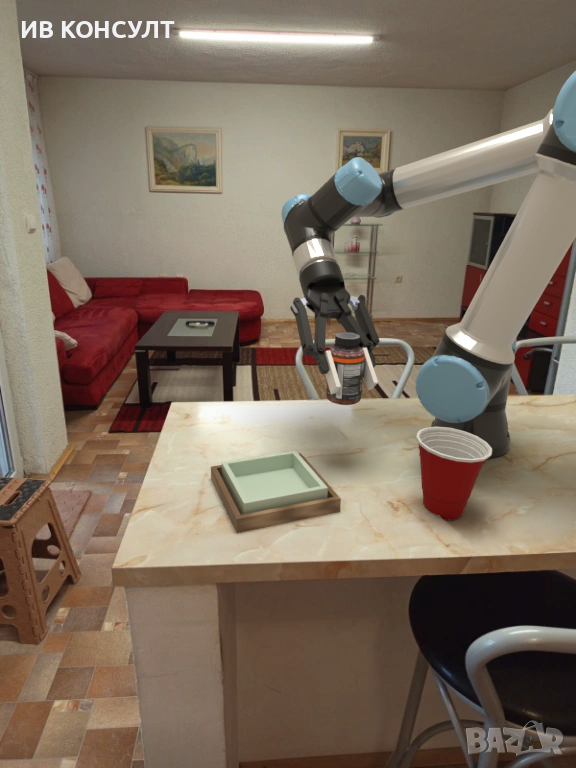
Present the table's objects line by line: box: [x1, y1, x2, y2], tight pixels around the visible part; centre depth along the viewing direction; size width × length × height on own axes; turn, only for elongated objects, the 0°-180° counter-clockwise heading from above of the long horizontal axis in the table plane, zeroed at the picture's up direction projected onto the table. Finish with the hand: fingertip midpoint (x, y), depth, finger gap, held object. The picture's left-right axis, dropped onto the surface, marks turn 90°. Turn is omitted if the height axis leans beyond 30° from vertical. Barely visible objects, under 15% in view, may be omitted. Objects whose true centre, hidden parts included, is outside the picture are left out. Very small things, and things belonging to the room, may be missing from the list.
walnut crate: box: [210, 452, 342, 534], centre depth 81 cm, size 16×16×3 cm
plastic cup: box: [415, 426, 492, 521], centre depth 77 cm, size 11×11×12 cm
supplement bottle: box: [325, 331, 365, 406], centre depth 85 cm, size 6×6×11 cm
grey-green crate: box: [221, 450, 328, 515], centre depth 81 cm, size 13×13×4 cm
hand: (354, 388), depth 83 cm, fingers closed on supplement bottle, 6 cm apart
